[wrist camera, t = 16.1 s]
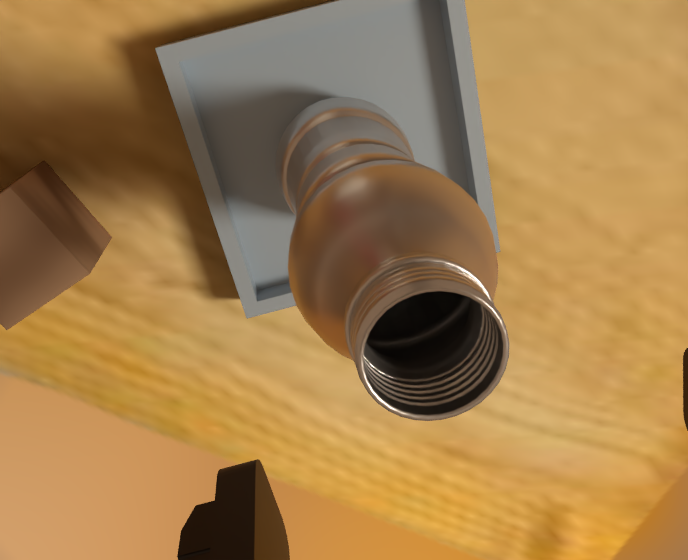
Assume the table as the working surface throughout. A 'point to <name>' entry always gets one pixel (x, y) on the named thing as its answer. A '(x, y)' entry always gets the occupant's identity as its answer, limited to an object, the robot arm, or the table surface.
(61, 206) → the walnut block
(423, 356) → the plastic bottle
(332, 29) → the tray
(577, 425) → the table surface
